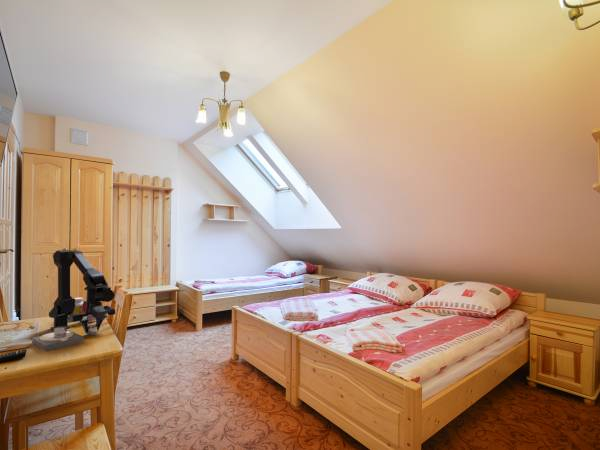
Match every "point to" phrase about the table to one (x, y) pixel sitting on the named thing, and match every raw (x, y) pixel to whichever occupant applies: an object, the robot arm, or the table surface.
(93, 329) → the cylinder
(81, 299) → the pill bottle
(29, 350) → the table surface
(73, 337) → the scale
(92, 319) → the soda can
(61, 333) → the cylinder
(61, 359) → the table surface
